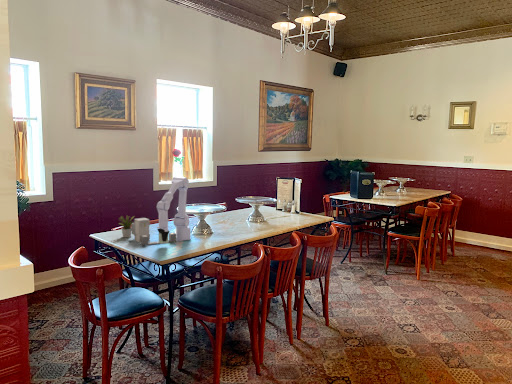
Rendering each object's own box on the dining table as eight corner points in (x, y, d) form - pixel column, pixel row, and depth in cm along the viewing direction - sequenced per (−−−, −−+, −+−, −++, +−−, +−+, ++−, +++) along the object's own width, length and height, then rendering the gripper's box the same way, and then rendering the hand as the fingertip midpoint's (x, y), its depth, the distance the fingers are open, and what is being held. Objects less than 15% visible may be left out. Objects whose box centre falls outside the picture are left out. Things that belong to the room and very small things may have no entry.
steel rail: (175, 240, 268) (175, 239, 268) (177, 242, 264) (177, 240, 264) (140, 244, 256) (140, 243, 256) (141, 245, 253) (141, 244, 253)
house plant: (112, 239, 267) (112, 216, 265) (116, 234, 281) (115, 212, 279) (134, 239, 270) (133, 216, 268) (136, 234, 284) (136, 212, 282)
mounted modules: (173, 239, 268) (173, 232, 267) (176, 241, 263) (176, 233, 263) (141, 242, 257) (141, 235, 256) (143, 244, 253) (142, 236, 252)
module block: (166, 241, 254) (166, 232, 253) (168, 243, 250) (168, 233, 249) (158, 242, 251) (158, 233, 250) (160, 243, 247) (160, 234, 246)
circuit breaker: (141, 236, 277) (140, 216, 275) (150, 240, 266) (149, 219, 264) (130, 238, 272) (130, 217, 270) (139, 242, 261) (139, 220, 259)
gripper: (154, 218, 253) (154, 238, 255) (160, 222, 240) (160, 243, 242) (164, 217, 256) (165, 237, 258) (171, 221, 244) (171, 242, 245)
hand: (163, 240), depth 250 cm, fingers closed on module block, 4 cm apart
